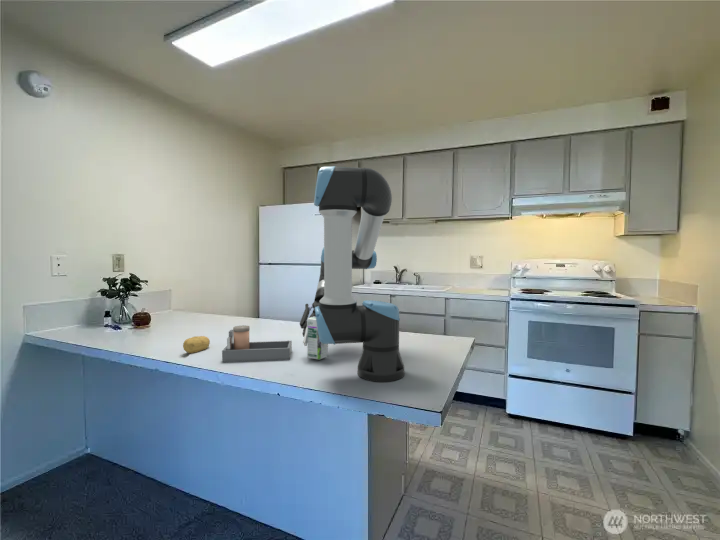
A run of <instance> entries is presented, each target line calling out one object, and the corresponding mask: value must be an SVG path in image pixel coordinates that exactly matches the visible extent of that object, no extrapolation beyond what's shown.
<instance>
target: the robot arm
mask: <svg viewBox="0 0 720 540" xmlns="http://www.w3.org/2000/svg"><path fill="white" fill-rule="evenodd" d="M392 203H393V194H392V190H391V187H390V185H389V183H388V180H387V179H386V178H385V177H384V176H383V175H382V173H380V172H379V171H377V170H375V169H373V168H369V167H354V166H352V167H351V166H336V165H332V166H321V167H320V168H319V169H318V171H317V177H316V183H315V192H314V200H313V204H314V207H315V206H316V207H318V213H319V215H321V216H322V218H323V248H322V249H321V256H320V268H319V269H320V272H319V276H318V277H319V278H318V283H317V287H316V290H315V291H316V292H315V294H314V295H315V296H314V299H313V300H314V301H313V303H311V304H309V303H306V304H305V308H304V311H303V312H302V313H303V314H302V316H301V319H300V321H299V326H300V328H301V329H302V337H303V341H302V344H303V345H304V347H307V319H308V318H310V317H316V322H317V329H318V335H319V340H320V342H321V343H323V344H325V347H328V348H329V345H340V344H360V343H362V350H361V354H360V358H359V360H358V364H357V375H358V377H360V378H361V377H362V379H363V378H364V380H366V379H367V381H370V380H371V382H377V381H378V382H382V383H384V382H394V381H398V380H400V379H402V378H403V377H404V376H405V365H404V361H403V358H402V355H401V352H400V321H401V320H400V319H401V318H400V311H399V310H400V309H399V307H398V305H396V304H394V303H391V302H386V301H381V300H373V299H372V300H370V299H368V300H367V299H366V300H363V301H362V303H361V304H362V305H357V303H358V302H357V299H356V298H355V296H353V291H352V290H353V270H368V269H375V268H376V267H377V262H378V261H377V260H378V259H377V258H378V257H377V252H376V251H375V247H376V244H377V241H378V239H379V235H380V232H381V229H382V226H383V223H384V219H385V216H387V214H389V212H390V209H391V207H392ZM358 208H361V209H362V213H361V217H360V221H359V222H360V223H359V226H358V231H357V237H356V239H355V245H354V250H353V217H354V216H355V215H356V214H357V213H358ZM312 309H313V310H312ZM310 311H312V312H311V314H310Z"/></svg>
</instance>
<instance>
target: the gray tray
mask: <svg viewBox="0 0 720 540" xmlns="http://www.w3.org/2000/svg"><path fill="white" fill-rule="evenodd" d="M249 342H250V349H241V350H227V345H226V346H225V347H224V348H223V349H222V350H221V355H222V356H221V357H222V358H221V359H222V361H221V362H222V363H236V362H237V363H238V362H259V361H260V362H261V361H263V362H265V361H283V360H284V361H287V360H289V361H290V360H291V355H292V351H293V346H292V343H293V341H292V340H276V341H275V340H273V341H249Z"/></svg>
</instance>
